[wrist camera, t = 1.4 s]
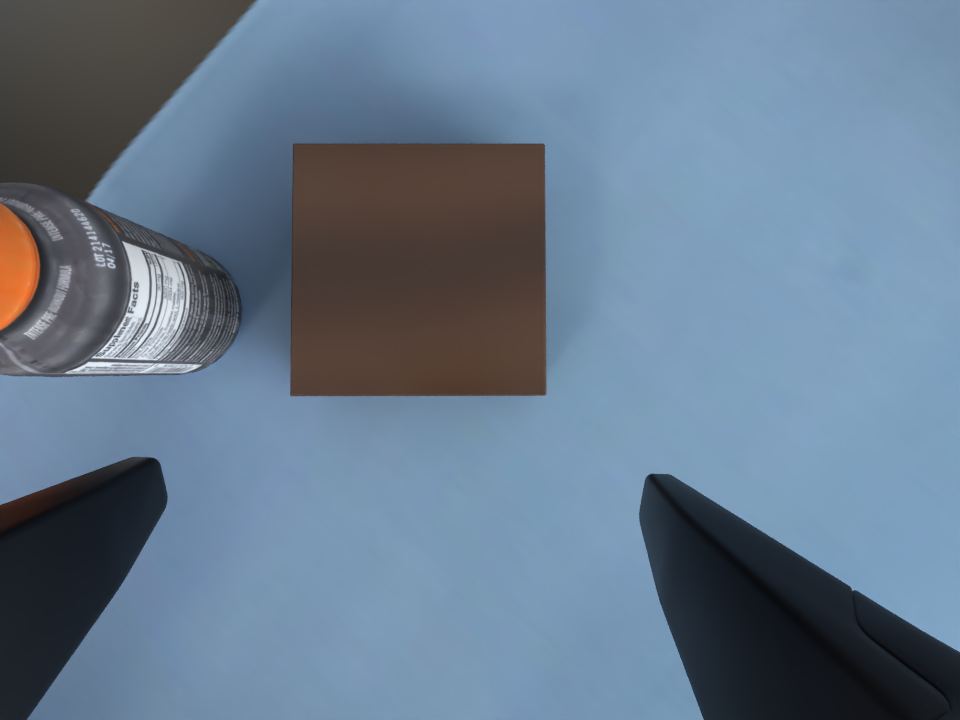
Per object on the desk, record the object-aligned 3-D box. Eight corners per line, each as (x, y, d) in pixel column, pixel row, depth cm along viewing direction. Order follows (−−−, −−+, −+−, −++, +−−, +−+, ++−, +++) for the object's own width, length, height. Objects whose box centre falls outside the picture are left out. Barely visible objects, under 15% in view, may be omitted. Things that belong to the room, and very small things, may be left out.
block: (534, 392, 23) (546, 395, 19) (322, 392, 23) (289, 395, 19) (533, 182, 24) (545, 142, 20) (324, 182, 24) (292, 143, 20)
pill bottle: (94, 302, 23) (-269, 234, 12) (193, 224, 23) (-72, 83, 12) (172, 401, 23) (-120, 426, 12) (271, 322, 23) (76, 271, 12)
